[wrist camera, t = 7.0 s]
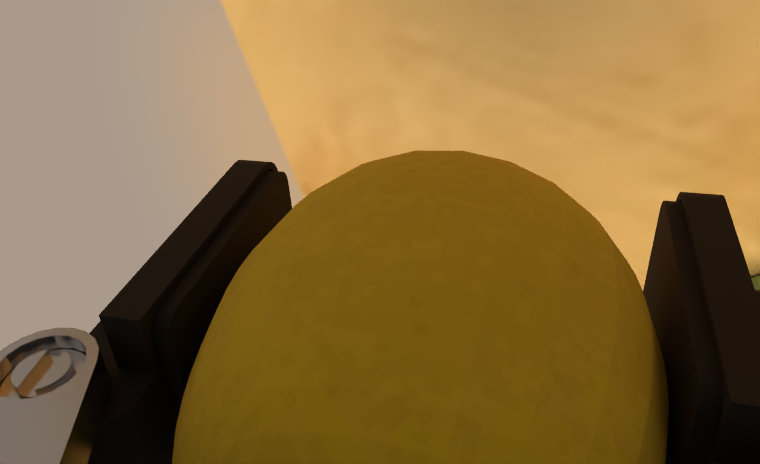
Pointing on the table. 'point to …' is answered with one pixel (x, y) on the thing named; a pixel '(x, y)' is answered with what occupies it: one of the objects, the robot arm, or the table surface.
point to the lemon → (430, 330)
